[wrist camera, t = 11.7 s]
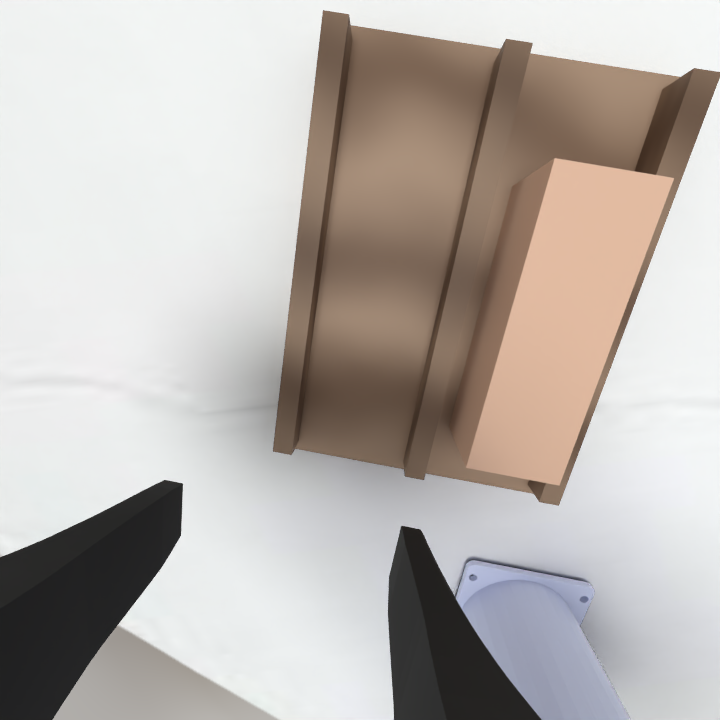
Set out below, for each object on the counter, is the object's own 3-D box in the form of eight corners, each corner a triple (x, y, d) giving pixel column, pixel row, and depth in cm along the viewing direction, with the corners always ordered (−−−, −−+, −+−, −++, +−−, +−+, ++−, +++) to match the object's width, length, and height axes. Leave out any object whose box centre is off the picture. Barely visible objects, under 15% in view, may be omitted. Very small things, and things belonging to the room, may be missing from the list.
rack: (533, 482, 20) (555, 513, 18) (286, 436, 21) (271, 459, 18) (668, 93, 15) (727, 56, 12) (335, 41, 15) (324, -6, 13)
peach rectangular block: (522, 440, 18) (559, 485, 15) (448, 426, 18) (466, 467, 15) (601, 201, 15) (674, 177, 11) (512, 186, 15) (554, 158, 12)
